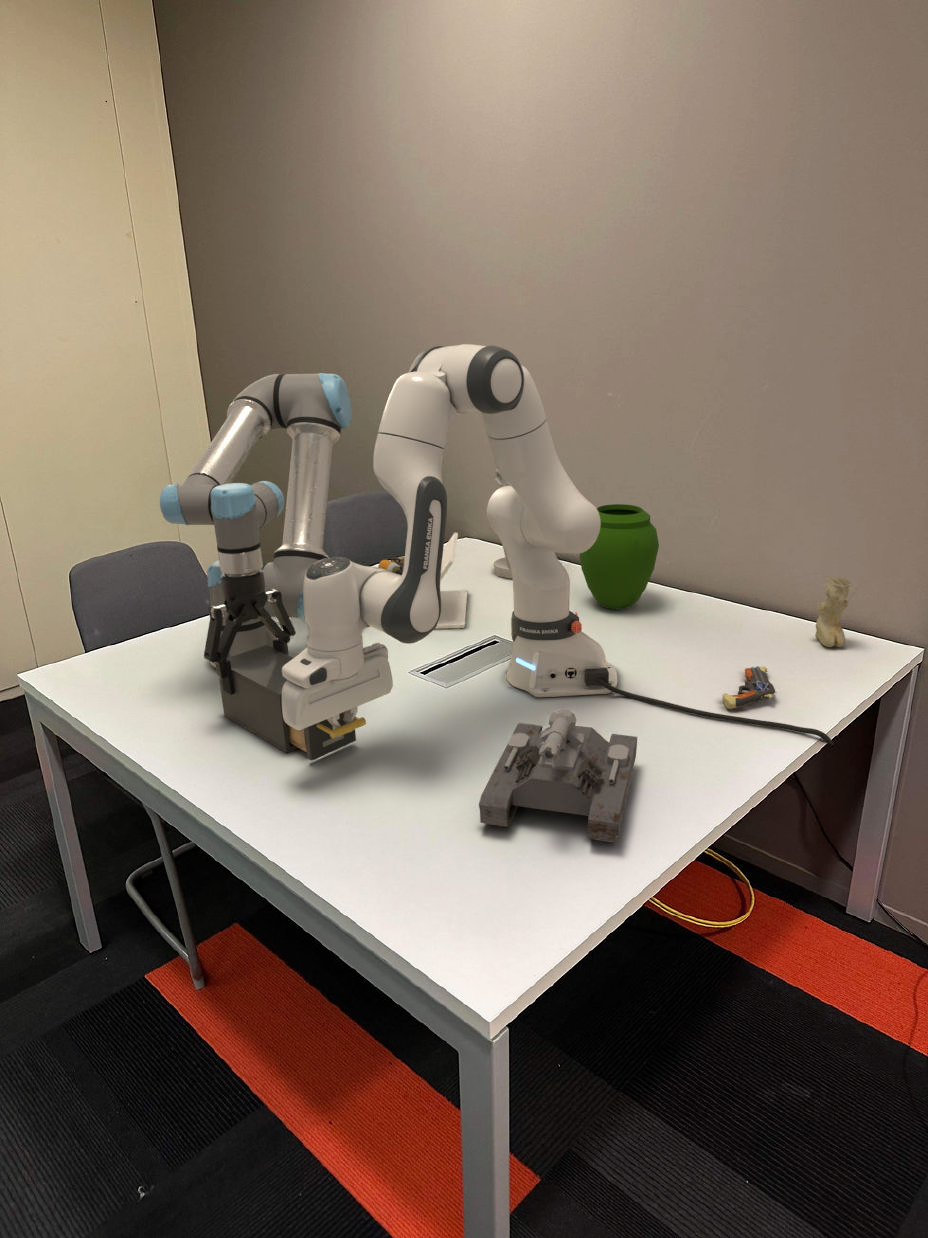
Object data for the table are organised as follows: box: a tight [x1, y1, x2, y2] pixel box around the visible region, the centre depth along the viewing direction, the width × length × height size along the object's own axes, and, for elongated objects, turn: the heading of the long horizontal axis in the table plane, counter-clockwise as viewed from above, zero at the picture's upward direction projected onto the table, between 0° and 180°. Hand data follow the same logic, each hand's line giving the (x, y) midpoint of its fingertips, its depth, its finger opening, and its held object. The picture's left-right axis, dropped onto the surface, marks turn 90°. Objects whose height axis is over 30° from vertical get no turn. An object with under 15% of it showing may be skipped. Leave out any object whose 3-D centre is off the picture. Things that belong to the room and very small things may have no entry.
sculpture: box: [814, 576, 852, 648], centre depth 185 cm, size 6×7×15 cm
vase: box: [578, 503, 660, 610], centre depth 210 cm, size 20×20×24 cm
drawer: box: [287, 711, 367, 762], centre depth 150 cm, size 25×10×10 cm, turn 45°
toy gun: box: [722, 665, 778, 710], centre depth 166 cm, size 3×19×10 cm
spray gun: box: [377, 555, 405, 576], centre depth 244 cm, size 4×17×15 cm
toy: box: [478, 707, 638, 844], centre depth 131 cm, size 25×20×15 cm
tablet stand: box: [434, 531, 468, 630], centre depth 211 cm, size 18×25×17 cm
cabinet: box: [218, 645, 299, 754], centre depth 157 cm, size 21×11×11 cm, turn 45°
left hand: (256, 682), depth 161 cm, fingers closed on cabinet, 11 cm apart
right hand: (343, 733), depth 143 cm, fingers closed, pressing on drawer
